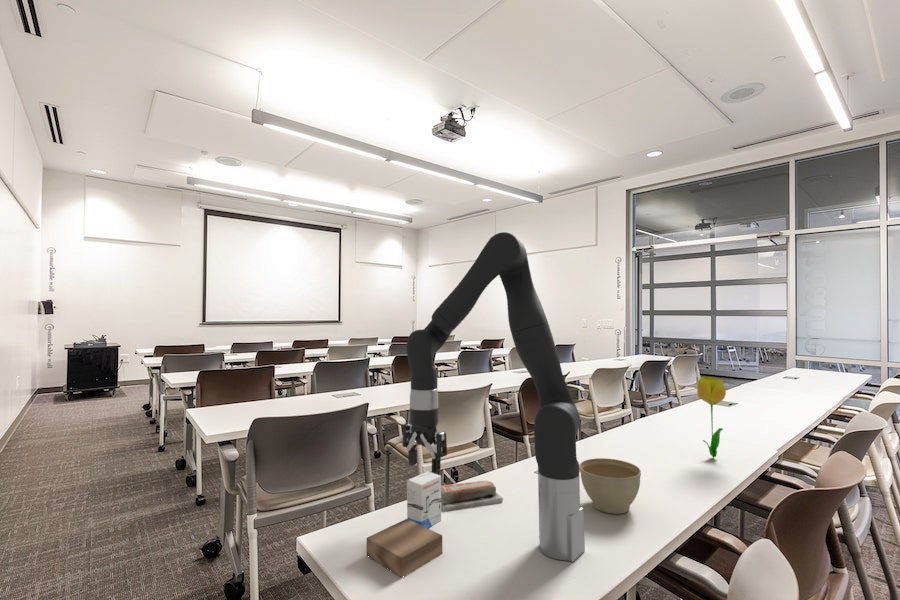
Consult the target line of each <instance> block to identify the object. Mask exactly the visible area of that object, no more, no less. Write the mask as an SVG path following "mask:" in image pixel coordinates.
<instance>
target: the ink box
mask: <svg viewBox="0 0 900 600" xmlns="http://www.w3.org/2000/svg"><path fill="white" fill-rule="evenodd" d="M441 486H442V475H440V474H438V473H435V474H434V473H432V471H425V472H424V473H421V474H418V475H416V476H414V477H411V478H409V479H408V480H407V481H406V512H407V513H406V514H407V517H406V519H409V520H411V521H413V522H415V523H417V524H419V525H421V526H423V527H426V528H428V529H430V528H431V527H433V526H434V525H436V524H437V523H439V522H440V521H442V508H441Z"/></svg>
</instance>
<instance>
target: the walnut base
mask: <svg viewBox="0 0 900 600" xmlns="http://www.w3.org/2000/svg"><path fill="white" fill-rule="evenodd" d="M441 555H443V535H442V534H441V533H439V532H436V531H434V530H432V529H430V528H426V527H423V526H421V525H419V524H417V523H415V522H413V521H411V520H409V519H407V518H405V519H404V520H400V521H399V522H397V523H394V524H393V525H391V526H388V527H386V528H384V529H382V530H380V531H378V532H376V533H374V534H372V535H369V536H367V537H366V557H367V556H369V557H370V558H372V559H374V560H375V561H376V562H375V561H374V560H373V561H374V562H375V563H377V562H378V563H377V564H378V565H380V564H381V565H380V566H382V565H383V566H384V568H385V567H386V568H385V569H387V568H388V569H389V570H388V569H387V570H388V571H390V570H391V571H392V572H391V571H390V572H391V573H393V572H394V574H395V573H396V574H397V575H396V574H395V575H396V576H398V575H399V576H401V577H403V576H405V575H406V576H408V575H410V574H411V573H413V572H414V571H416V570H418V569H419V568H421V567H422V565H423V566H424V565H426V564H428V563H430V562H431V561H432V560H434V559H436V558H437V557H439V556H441ZM369 557H368V558H369ZM370 558H369V559H370ZM372 559H371V560H372ZM427 562H428V563H427ZM383 566H382V567H383ZM417 568H418V569H417ZM415 569H416V570H415ZM412 571H413V572H412ZM409 573H410V574H409ZM407 574H408V575H407ZM399 576H398V577H399ZM406 576H405V577H406ZM401 577H400V578H401ZM403 578H404V577H403Z"/></svg>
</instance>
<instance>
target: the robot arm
mask: <svg viewBox="0 0 900 600" xmlns="http://www.w3.org/2000/svg"><path fill="white" fill-rule="evenodd" d="M498 276H499V278H500V280H501V283H502V285H503V288H504V289H503V290H504V292H505V294H506V295H505V296H506V300H507V301H506V302H507V303H506V305H507V320H508V326H509V329H510V333H511V337H512V340H513V343H514V347H515V349H516V352H517V355H518V357H519V358H520V360H521V363H523V365H524V367H525V369H526V371H527V372H528V374H529V376H530V377H531V379H532V380H533V384H534V386H535V389H536V393H537V396H538V399H539V404H540V409H539V410H538V411H537V413H536V414H535V417H534V422H533V423H534V425H533V428H534V429H533V433H534V455H535V456H534V457H535V461H536V463H537V477H538V478H537V481H538V482H537V483H538V484H537V485H538V486H537V487H538V489H537V490H538V497H537V498H538V531H539V532H538V533H539V534H538V535H539V536H538V538H539V541H538V542H539V550H540V551H541V552H542V554H544V555H545V556H547V557H549V558H551V559H555V560H561V561H567V562H568V561H569V562H571V563H572V562H575V560H577V559H578V558H579V557H580V556H582V554H583V553H584V552H585V551H586V548H585V547H586V542H585V541H586V540H585V511H584V510H585V509H584V508H583V506H582V507H581V497H580V495H581V494H580V493H581V489H580V468H579V465H580V463H579V461H578V458H577V439H576V438H577V437H576V436H577V435H576V434H577V433H578V431H579V429H580V425H581V417H580V413H579V411H578V408H577V405H576V404H575V401H574V400H573V397H572V395H571V392H570V390H569V388H568V385H567V382H566V380H565V378H564V374H563V370H562V366H561V362H560V359H559V355H558V351H557V348H556V347H557V346H556V344H555V341H554V337H553V334H552V333H553V332H552V331H551V328H550V324H549V321H548V319H547V316H546V313H545V310H544V308H543V305H542V302H541V299H540V298H539V296H538V293H537V291H536V288H535V286H534V285H535V284H534V283H533V278H532V274H531V269H530V265H529V259H528V253H527V249H526V248H525V244H524V243H523V242H522V241H521V240H520V239H519V238H518V237H517V236H515V235H514V234H513V233H510V232H505V231H503V232H499V233H495V234H494V235H493V236H491V237H490V238H489V239H488V241H487V242H486V244H485V245H484V247H483V248H482V249H481V251H480V253H479V254H478V257H476V260H475V261H474V262H473V264H472V265H471V267H470V268H469V269H468V271H467V273H466V274H465V275H464V276H463V278H462V279H461V280H460V282H459V283H458V284H457V286H455V288H454V289H453V290H452V291H451V292H450V294H448V296H447V297H446V298H445V299H444V300H443V301H442V302H441V304H439V306H438V307H437V308H435V310H434V311H433V313H432V314H431V320H430V322H429V323H428V324H427V325H426V326H425V328H423V329H417V330H413V331H412V332H411V333H410V334H409V336H408V337H407V340H406V341H407V342H406V355H407V360H408V366H409V369H410V393H409V423H407V424H406V423H405V424H403V426H402V427H403V428H402V447H403V448H406V449H407V451H408V452H407V454H408V455H407V456H408V457H407V460H408V465H409V466H411V467H412V466H415V465H417V463H418V459H417V458H418V450H417V448H418V446H422V447H425V448H426V450H427V451H428V452H429V454H430V456H431V473H434V474H438V473H439V472H440V471H441V465H442V464H441V459H442V458H443V457H446V456H447V455H448V447H447V446H448V443H447V432H446V431H441V432H440V431H438V430H437V425H438V424H439V392H438V370H437V368H436V367H435V366H433V356H432V355H435V354H436V353H437V352H438V351H439V350H440V349H441V348H442V347H443V345H444V344H445V343H446V341H447V340H448V339H449V337H450V335H451V334H452V332H453V331H454V330H455V329H456V328H457V327H458V326H459V325H460V324H461V323H462V322H463V320H465V318H466V317H467V316H468V315H469V314H470V313H471V311H472V310H473V309H474V307H475V305H476V304H477V302H478V300H479V298H480V297H481V295H482V294H483V292H484V291H485V289H486V288H487V287H488V286H489V284H491V283H492V281H494V280H495V279H496V278H497V277H498Z"/></svg>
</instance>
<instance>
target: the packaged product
mask: <svg viewBox="0 0 900 600" xmlns="http://www.w3.org/2000/svg"><path fill="white" fill-rule="evenodd" d="M503 501H504V497H502V496H501V495H500V494H499V493H497V487H496V486H495V484H494V482H492V481H488V480H478V481H477V480H476V481H471V482H463V483H462V482H461V483H452V484H445V485H442V484H441V510H442V511H443V512H448V511H454V510H461V509H462V508H463V509H469V507H470V508H475V506H477V507H482V506H481V505H483V506H488V505H495V504H500V502H501V503H503ZM463 509H462V510H463Z"/></svg>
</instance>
